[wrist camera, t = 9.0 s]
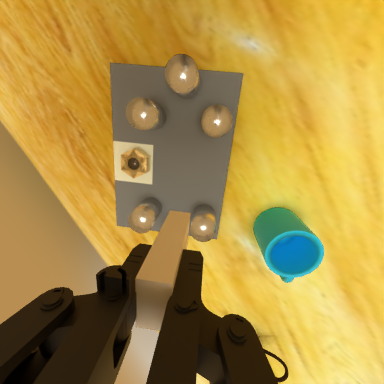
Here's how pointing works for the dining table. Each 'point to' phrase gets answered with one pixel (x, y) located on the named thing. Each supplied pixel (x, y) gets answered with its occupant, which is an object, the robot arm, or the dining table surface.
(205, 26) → the dining table surface
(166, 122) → the mat
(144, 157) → the nut
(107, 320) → the robot arm
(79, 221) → the dining table surface
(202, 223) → the spacers
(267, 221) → the mug
